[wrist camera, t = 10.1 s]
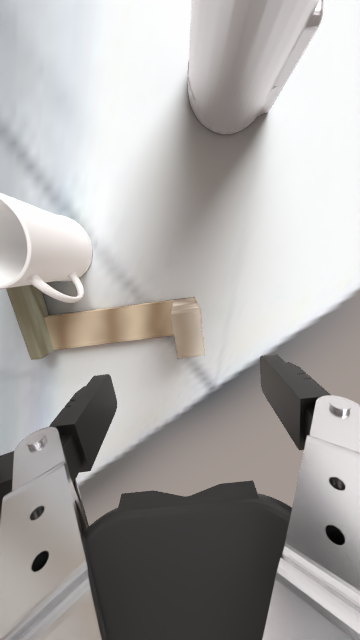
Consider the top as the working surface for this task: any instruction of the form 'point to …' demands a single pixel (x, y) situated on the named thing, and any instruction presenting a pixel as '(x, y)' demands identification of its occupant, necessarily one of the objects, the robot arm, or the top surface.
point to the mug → (41, 249)
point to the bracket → (106, 324)
